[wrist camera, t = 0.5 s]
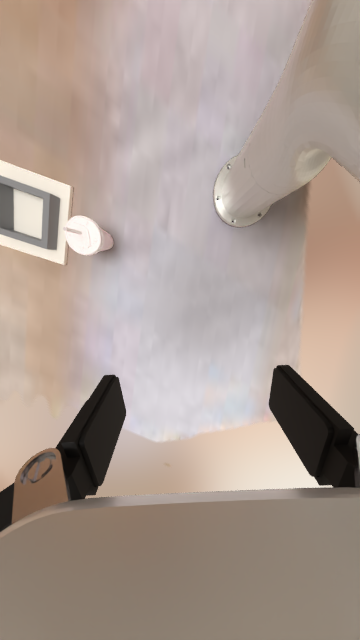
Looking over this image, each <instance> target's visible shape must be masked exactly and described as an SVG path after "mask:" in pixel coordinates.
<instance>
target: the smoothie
mask: <svg viewBox="0 0 360 640" xmlns="http://www.w3.org/2000/svg"><path fill="white" fill-rule="evenodd" d="M63 230H64V231H65V237H66V240H67V242H68V244H69V246H70V247H71V248H72V249H73V250H74V251H75V252H77V253H79V254H82V255H87V256H89V255H94V254H96V253H98V252H100V251H104V250H109V249H111V248H112V246H113V243H114V242H113V238H112V236H111V235H110V234H109V233H107V232H106V231H105V230H103V229H102V228H100V227H99V226H98V224H97V223H96V222H95V221H93V220H92V219H90V218H88V217H85V216H74V217H72V218H71V219H69V220H68V222H67V223H66V226H65V227H63Z"/></svg>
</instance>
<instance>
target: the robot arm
mask: <svg viewBox="0 0 360 640" xmlns="http://www.w3.org/2000/svg"><path fill="white" fill-rule="evenodd" d="M331 158H333V159H334V160H335V161H336V162H337V163H339V165H341V166H343V167H344V168H345V169H346V170H348V171H349V172H350V173H351V174H352V175H353V176H354V177H355V178H356V179H357V180H358V181H359V182H360V0H312V2H311V4H310V7H309V9H308V12H307V14H306V17H305V19H304V22H303V24H302V27H301V29H300V32H299V34H298V37H297V39H296V42H295V44H294V47H293V49H292V52H291V54H290V57H289V59H288V62H287V64H286V67H285V69H284V71H283V74H282V76H281V78H280V80H279V82H278V85H277V87H276V89H275V91H274V92H273V94H272V96H271V98H270V100H269V102H268V104H267V106H266V108H265V109H264V111H263V113H262V115H261V117H260V118H259V120H258V122H257V124H256V125H255V127H254V129H253V131H252V132H251V134H250V136H249V138H248V139H247V141H246V143H245V145H244V146H243V148H242V150H241V152H240V153H239V155H237V156H235V157H233V158H232V159H231V160H229V161H228V162H227V163H226V164H225V165H224V166H223V168H222V169H221V171H220V173H219V174H218V177H217V179H216V182H215V185H214V191H213V200H214V206H215V209H216V212H217V213H218V215H219V217H220V218H221V219H222V220H223V221H224V222H225V223H227V224H229V225H231V226H234V227H246V226H249V225H252V224H254V223H255V222H257V221H259V220H260V219H261V218H262V217H263V216H264V215H265V214H266V213H267V211H268V210H269V208H270V207H271V205H272V204H273V203H275V202H276V201H278V200H280V199H282V198H283V197H285V196H287V195H288V194H290V193H292V192H294V191H295V190H297V189H299V188H300V187H302V186H304V185H305V184H307V183H308V182H310V181H311V180H312V179H313V178H315V177H316V176H317V175H318V174H319V173H320V172H321V171H322V169H323V168H324V167H325V166H326V165H327V163H328V162H329V160H330V159H331ZM227 168H229V169H227ZM217 198H218V201H217V200H216V199H217ZM258 215H259V217H258ZM232 221H234V222H233V223H232ZM269 407H270V410H271V411H272V413H273V415H274V416H275V418H276V420H277V421H278V423H279V424H280V426H281V428H282V430H283V431H284V433H285V434H286V436H287V438H288V439H289V441H290V443H291V444H292V446H293V448H294V449H295V451H296V453H297V454H298V456H299V458H300V459H301V461H302V463H303V464H304V466H305V468H306V469H307V471H308V472H309V474H310V475H311V476H314V477H315V479H316V480H317V482H318V484H319V485H332V486H333V487H334V488H295V489H266V490H240V491H216V492H193V493H171V494H151V495H131V496H115V497H101V498H88V499H85V497H86V495H96V492H97V489H98V486H101V485H102V483H103V481H104V478H105V475H106V472H107V469H108V467H109V463H110V461H111V458H112V455H113V452H114V449H115V446H116V443H117V440H118V437H119V434H120V431H121V428H122V426H123V423H124V420H125V416H126V409H125V404H124V400H123V395H122V391H121V387H120V382H119V378H118V377H116V376H115V375H105V376H103V378H102V379H101V381H100V383H99V384H98V386H97V387H96V389H95V390H94V392H93V393H92V395H91V397H90V398H89V400H87V401H86V402H85V404H84V405H83V407H82V408H81V410H80V411H79V413H78V414H77V416H76V418H75V419H74V421H73V422H72V424H71V425H70V427H69V428H68V430H67V431H66V433H65V434H64V436H63V437H62V439H61V440H60V442H59V444H58V445H57V447H56V448H49V449H45V450H43V451H41V452H39V453H37V454H36V455H35V456H33V457H31V458H30V459H29V460H28V461H27V462H26V463H25V464H24V465H23V466H22V468H21V469H20V470H19V472H18V474H17V476H16V479H15V483H13V484H12V485H10V486H9V487H7V488H6V489H4V490H3V491H1V492H0V640H360V434H359V435H358V434H357V433H356V432H355V431H354V428H353V427H352V426H351V425H350V424H349V423H348V422H347V421H346V420H345V419H344V418H343V417H342V416H340V414H339V413H338V412H337V411H335V409H333V408H332V407H331V406H330V405H329V404H328V403H327V402H326V401H325V400H324V399H323V398H322V397H321V396H320V395H319V394H318V393H317V392H316V391H315V390H314V389H313V388H312V387H311V386H310V385H309V384H308V383H307V382H306V381H305V380H304V379H303V378H302V377H301V376H300V375H299V374H298V373H296V372H295V371H294V370H293V369H292V368H291V367H290V366H289V365H278V366H277V367H276V368H275V369H274V371H273V378H272V385H271V392H270V399H269Z"/></svg>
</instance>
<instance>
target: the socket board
mask: <svg viewBox="0 0 360 640" xmlns="http://www.w3.org/2000/svg"><path fill="white" fill-rule="evenodd" d="M72 199H73V187H71V186H69V185H66V184H64V183H61V182H58V181H55V180H53V179H50V178H47V177H45V176H42V175H39V174H36V173H34V172H31V171H28V170H26V169H23V168H20V167H17V166H15V165H12V164H9V163H6V162H4V161H1V160H0V245H3V246H6V247H9V248H12V249H15V250H19V251H22V252H25V253H28V254H31V255H34V256H37V257H41V258H44V259H47V260H50V261H53V262H56V263H59V264H63V265H66V264H67V253H68V242H67V240H66V237H65V231H64V230H63V227H65V226H66V223H67V222H68V220H69V219H71V210H72Z"/></svg>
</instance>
